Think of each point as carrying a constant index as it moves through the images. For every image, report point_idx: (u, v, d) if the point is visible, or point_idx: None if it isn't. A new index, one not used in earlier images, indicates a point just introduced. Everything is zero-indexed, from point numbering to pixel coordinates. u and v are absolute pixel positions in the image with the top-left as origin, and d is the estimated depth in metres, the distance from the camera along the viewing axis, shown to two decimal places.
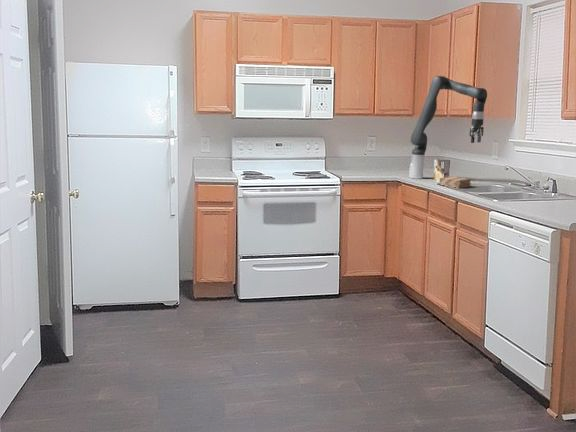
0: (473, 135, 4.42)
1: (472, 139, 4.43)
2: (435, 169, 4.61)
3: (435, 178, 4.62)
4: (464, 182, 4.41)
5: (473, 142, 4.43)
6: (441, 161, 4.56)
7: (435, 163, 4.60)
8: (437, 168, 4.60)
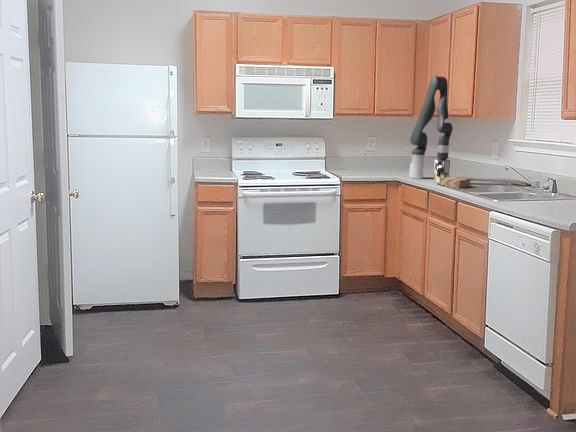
0: (439, 169, 4.57)
1: (438, 172, 4.58)
2: None
3: (435, 178, 4.62)
4: (464, 182, 4.41)
5: (439, 175, 4.58)
6: (441, 161, 4.56)
7: None
8: None
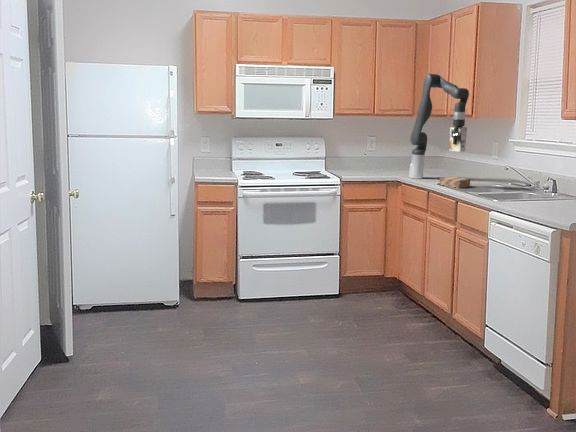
0: None
1: (454, 140, 4.39)
2: (451, 137, 4.42)
3: (451, 146, 4.43)
4: (464, 182, 4.41)
5: (455, 143, 4.39)
6: None
7: None
8: None
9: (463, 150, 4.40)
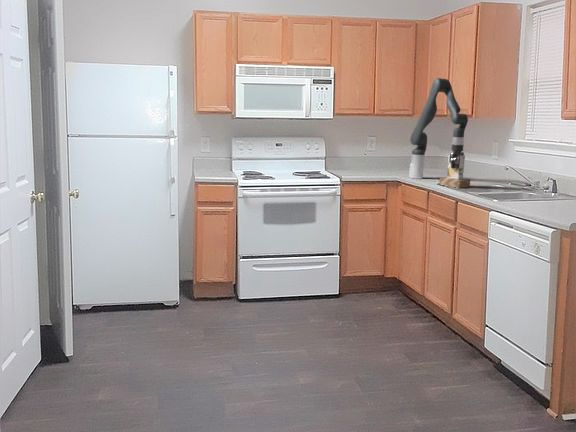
0: (453, 161, 4.40)
1: (452, 165, 4.41)
2: (449, 164, 4.45)
3: (449, 173, 4.45)
4: (464, 182, 4.41)
5: (453, 168, 4.41)
6: (456, 156, 4.40)
7: (449, 158, 4.44)
8: None
9: (461, 178, 4.44)
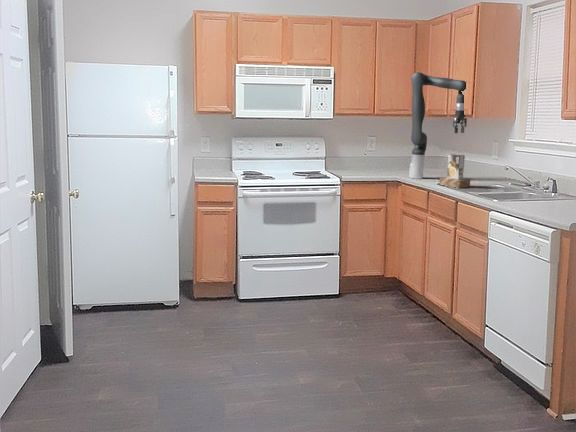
0: None
1: (455, 130, 4.62)
2: (449, 165, 4.45)
3: (449, 173, 4.45)
4: (464, 182, 4.41)
5: (456, 132, 4.62)
6: (456, 156, 4.40)
7: (449, 158, 4.44)
8: (451, 163, 4.44)
9: (461, 178, 4.44)
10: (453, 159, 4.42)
